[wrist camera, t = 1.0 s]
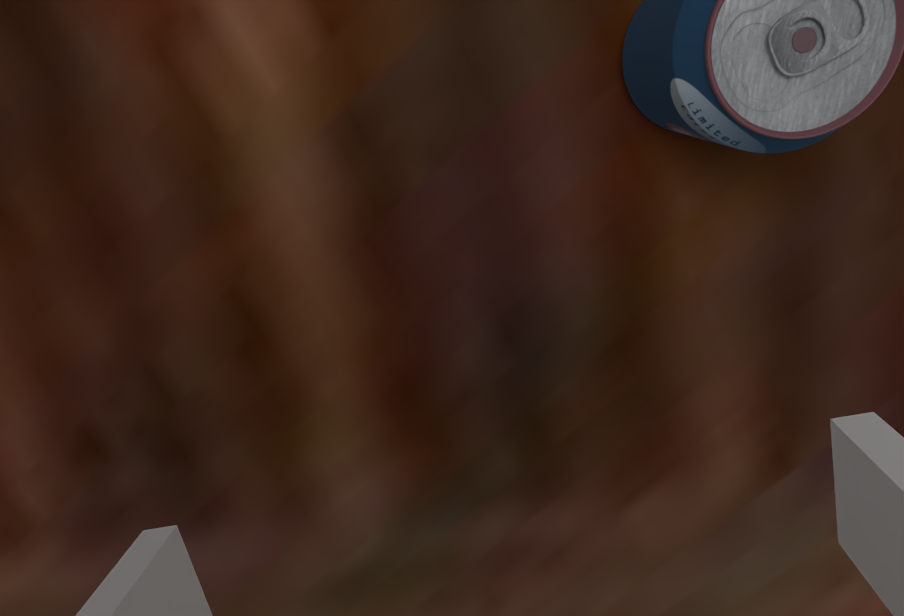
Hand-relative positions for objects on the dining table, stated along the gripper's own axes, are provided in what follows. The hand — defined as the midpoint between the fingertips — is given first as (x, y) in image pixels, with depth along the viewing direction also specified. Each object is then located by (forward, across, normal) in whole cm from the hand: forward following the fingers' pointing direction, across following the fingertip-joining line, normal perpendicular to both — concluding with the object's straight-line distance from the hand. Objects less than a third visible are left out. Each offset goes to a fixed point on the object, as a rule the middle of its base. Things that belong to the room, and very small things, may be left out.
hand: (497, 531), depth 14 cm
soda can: (+23, +11, +8) cm, 26 cm away
